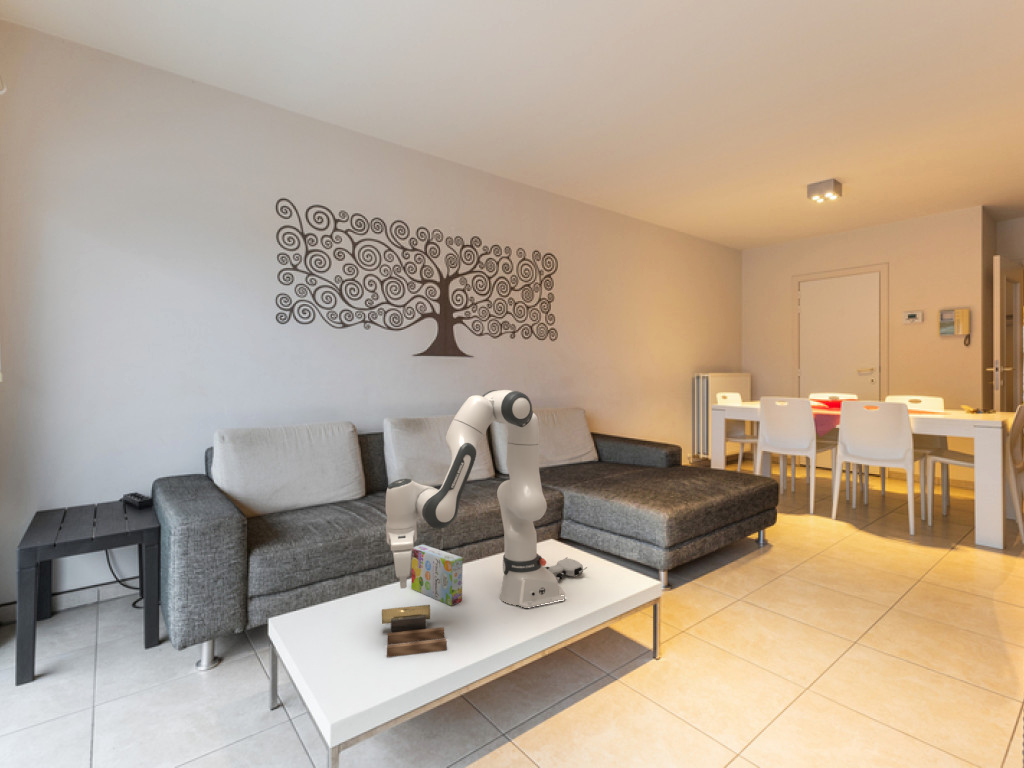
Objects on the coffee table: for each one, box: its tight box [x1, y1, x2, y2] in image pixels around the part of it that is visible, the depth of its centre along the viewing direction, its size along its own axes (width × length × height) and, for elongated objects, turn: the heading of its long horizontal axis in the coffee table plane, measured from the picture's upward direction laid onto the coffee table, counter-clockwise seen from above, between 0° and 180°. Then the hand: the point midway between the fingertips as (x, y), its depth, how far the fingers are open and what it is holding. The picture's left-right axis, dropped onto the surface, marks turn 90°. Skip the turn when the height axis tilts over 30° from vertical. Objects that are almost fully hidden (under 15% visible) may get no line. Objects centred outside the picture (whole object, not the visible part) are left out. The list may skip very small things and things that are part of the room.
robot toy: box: [544, 556, 588, 581], centre depth 192 cm, size 12×4×15 cm
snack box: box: [410, 543, 464, 607], centre depth 175 cm, size 21×6×15 cm, turn 50°
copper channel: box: [386, 626, 448, 658], centre depth 142 cm, size 16×8×2 cm, turn 103°
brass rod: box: [381, 604, 431, 625], centre depth 151 cm, size 14×4×4 cm, turn 103°
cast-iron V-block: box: [390, 605, 427, 633], centre depth 151 cm, size 10×8×5 cm
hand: (403, 580), depth 151 cm, fingers open, 8 cm apart
